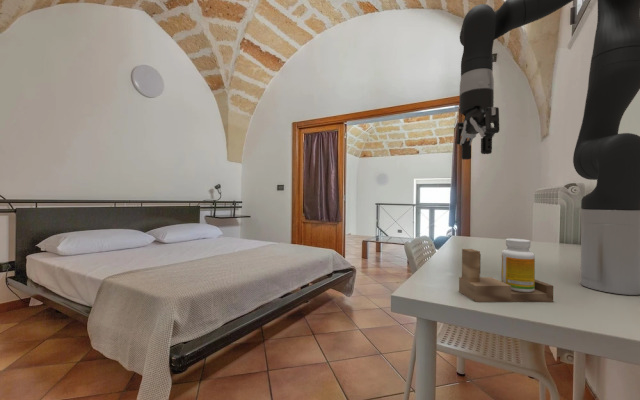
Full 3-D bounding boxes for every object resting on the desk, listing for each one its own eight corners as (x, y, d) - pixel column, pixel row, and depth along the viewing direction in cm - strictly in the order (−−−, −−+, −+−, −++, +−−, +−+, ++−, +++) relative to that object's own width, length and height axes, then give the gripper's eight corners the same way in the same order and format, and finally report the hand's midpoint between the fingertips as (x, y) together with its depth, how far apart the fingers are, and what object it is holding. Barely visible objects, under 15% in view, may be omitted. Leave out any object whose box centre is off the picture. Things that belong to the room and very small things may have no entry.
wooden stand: (529, 291, 58) (529, 248, 58) (553, 301, 52) (553, 254, 52) (459, 291, 58) (459, 248, 58) (475, 301, 52) (475, 253, 52)
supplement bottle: (541, 293, 52) (542, 241, 52) (513, 292, 52) (513, 241, 53) (521, 284, 58) (522, 238, 58) (495, 284, 58) (496, 237, 58)
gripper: (510, 80, 63) (510, 152, 63) (474, 102, 77) (473, 161, 77) (478, 80, 63) (477, 151, 63) (447, 102, 77) (447, 160, 77)
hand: (475, 156), depth 70 cm, fingers open, 8 cm apart
